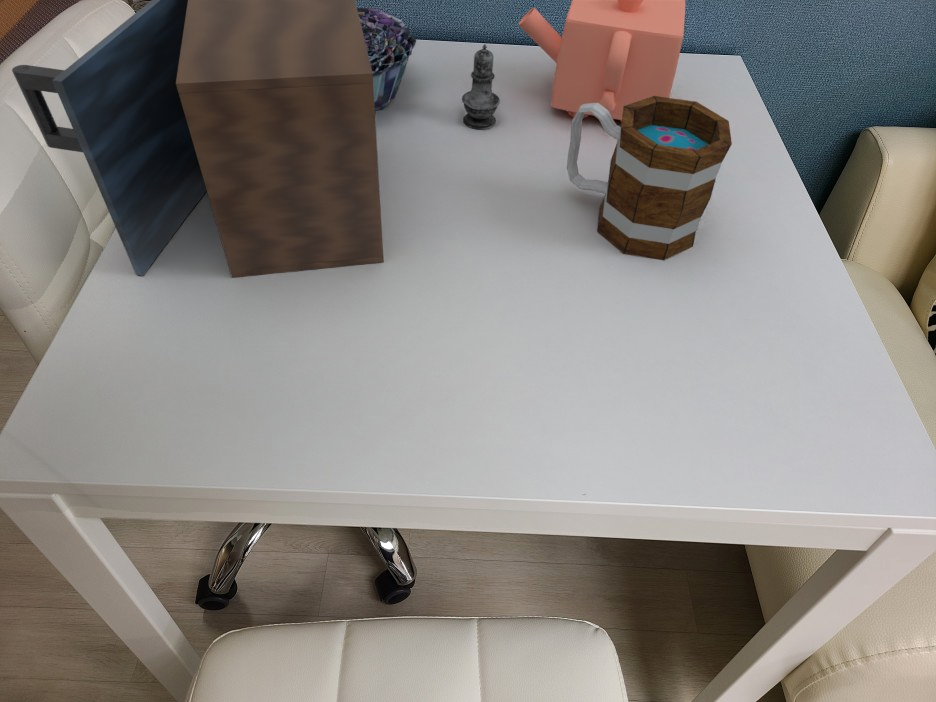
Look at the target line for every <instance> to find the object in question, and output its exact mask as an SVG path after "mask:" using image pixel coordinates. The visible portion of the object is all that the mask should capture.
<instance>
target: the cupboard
mask: <svg viewBox="0 0 936 702" xmlns="http://www.w3.org/2000/svg"><path fill="white" fill-rule="evenodd" d="M357 8H358V7H357V3H356V0H188V4H187V11H186V17H185V24H184V31H183V38H182V45H181V51H180V58H179V65H178V72H177V79H176V86H177V90H178V93H179V96H180V100H181V103H182V107H183V110H184V114H185V117H186V120H187V124H188V127H189V131H190V134H191V138H192V141H193V145H194V148H195V152H196V155H197V158H198V162H199V165H200V169H201V172H202V176H203V179H204V183H205V186H206V190H207V191H206V193H207V196H208V200H209V203H210V207H211V210H212V213H213V217H214V221H215V223H216V227H217V231H218V234H219V238H220V241H221V244H222V248H223V251H224V255H225V258H226V262H227V266H228V270H229V272H230V276H231V278H241V277H251V276H260V275H271V274H281V273H291V272H300V271H309V270H320V269H330V268H331V269H332V268H340V267H351V266H361V265H369V264H380V263H381V264H382V263H384V262H385V260H384V241H383V225H382V209H381V192H380V174H379V160H378V159H379V158H378V157H379V155H378V142H377V126H376V125H377V123H376V110H375V105H374V89H373V73H372V69H371V65H370V60H369V56H368V52H367V48H366V44H365V40H364V36H363V32H362V27H361V23H360V19H359V15H358V11H357Z"/></svg>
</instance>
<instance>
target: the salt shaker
mask: <svg viewBox="0 0 936 702" xmlns="http://www.w3.org/2000/svg"><path fill="white" fill-rule="evenodd" d="M487 48H488V46H487V45H486V44H485V43H484V44H483V46H482V47H481V49H479V50H477V51H476V52H475V53H474V55H473V71H472V72H471V73H470V78H471V79H472V82H471V89H470V91H469V90H468V91H466V92H465V93H464V94H463V95H462V96H461V102H462V103H463V107H464V111H465V112H466V114H464V115H463V117H462V122H463V124H464V125H465V126H466V127H467V128H470V129H473V130H477V131H478V130H479V131H483V130H484V131H485V130H490V129H492V128H493V127H495V126H496V124H497V118H496V116H494V114H495V113H496V111H497V110H498V106H499V105H500V103H501V99H500V97H499V96H498V94H496V93H494V92H493V80H494V79H495V76H496V75H495V73H494V72H493V70H494V58H495V57H494V53H493V52H492V51H491V50H489V49H487Z"/></svg>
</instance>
